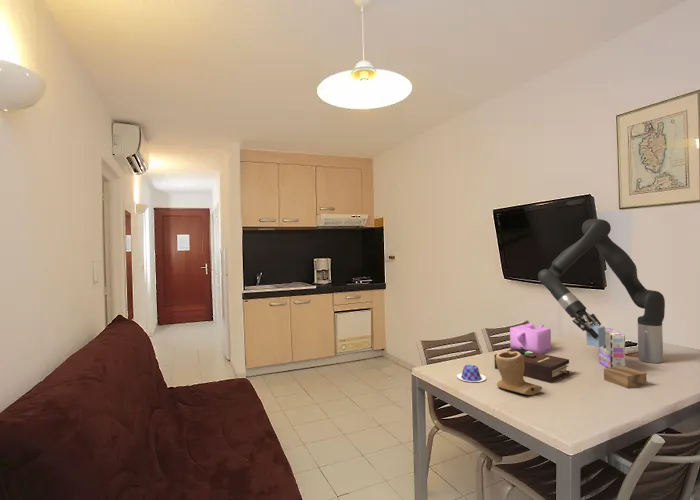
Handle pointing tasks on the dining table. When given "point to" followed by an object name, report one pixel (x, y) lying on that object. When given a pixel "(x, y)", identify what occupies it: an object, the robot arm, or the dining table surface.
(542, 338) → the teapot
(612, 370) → the walnut block
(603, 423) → the dining table surface
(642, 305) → the robot arm
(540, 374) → the decorative book
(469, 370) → the pudding
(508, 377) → the tan hollow piece
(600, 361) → the candy box
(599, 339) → the slate-blue block
